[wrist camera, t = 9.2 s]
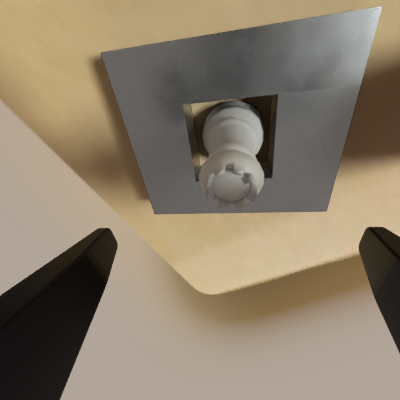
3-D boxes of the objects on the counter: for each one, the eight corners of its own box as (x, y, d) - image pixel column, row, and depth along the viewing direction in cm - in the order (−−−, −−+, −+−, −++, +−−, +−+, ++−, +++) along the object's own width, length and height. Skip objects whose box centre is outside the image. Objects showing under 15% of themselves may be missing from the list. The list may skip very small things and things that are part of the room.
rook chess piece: (242, 166, 18) (244, 237, 12) (194, 141, 18) (170, 203, 11) (276, 118, 16) (302, 176, 9) (221, 86, 15) (210, 127, 9)
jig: (357, 10, 12) (382, 6, 10) (317, 192, 19) (326, 211, 17) (119, 49, 14) (100, 52, 12) (162, 197, 21) (154, 214, 20)
